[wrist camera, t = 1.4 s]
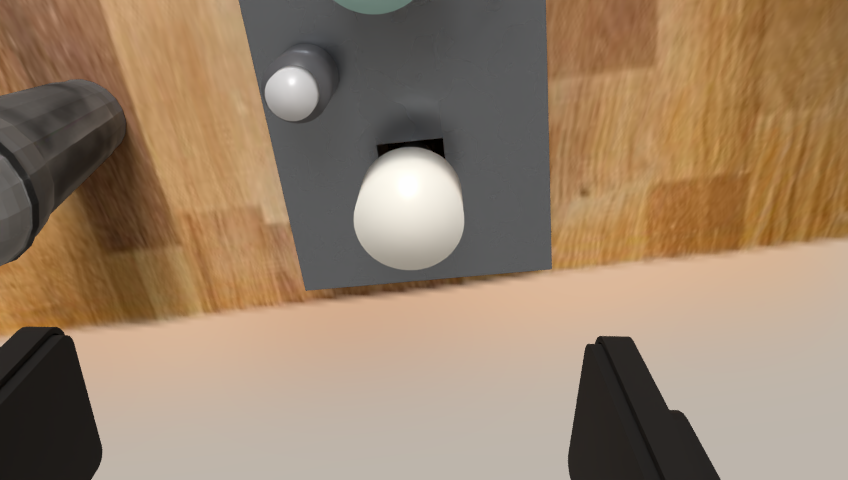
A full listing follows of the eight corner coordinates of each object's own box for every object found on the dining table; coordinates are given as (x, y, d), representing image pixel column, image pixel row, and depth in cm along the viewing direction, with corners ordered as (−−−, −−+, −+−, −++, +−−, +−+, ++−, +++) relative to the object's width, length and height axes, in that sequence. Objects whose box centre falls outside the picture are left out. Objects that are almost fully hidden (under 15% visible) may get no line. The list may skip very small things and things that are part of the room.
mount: (523, -240, 29) (539, -269, 24) (538, 229, 39) (551, 269, 35) (225, -198, 30) (188, -219, 25) (320, 249, 40) (305, 290, 36)
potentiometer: (332, 40, 30) (318, 56, 26) (343, 102, 31) (331, 126, 27) (270, 47, 30) (248, 64, 26) (284, 109, 31) (264, 133, 28)
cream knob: (454, 113, 33) (459, 164, 26) (462, 196, 35) (468, 265, 28) (364, 122, 33) (344, 176, 26) (377, 205, 35) (362, 274, 28)
